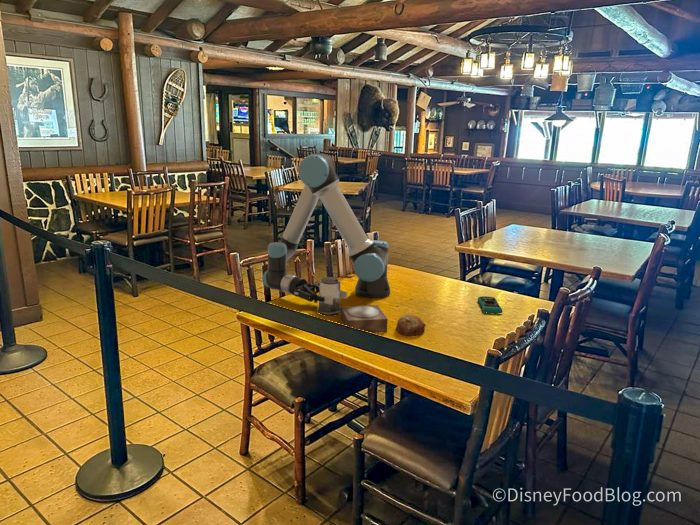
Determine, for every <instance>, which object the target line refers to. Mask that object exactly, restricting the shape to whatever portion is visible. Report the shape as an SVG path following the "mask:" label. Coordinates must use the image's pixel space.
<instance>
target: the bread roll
mask: <svg viewBox="0 0 700 525" xmlns="http://www.w3.org/2000/svg"><path fill="white" fill-rule="evenodd" d="M425 328H426V324H425V323H424V320H422V319H421V317H418V316H417V315H414V314H407V313H406V314H403V315H402V316H400V317H399V319H398V320H397V323H396V328H395V330H396V332H397V333H398V334H399V335H401V336H403V337H409V338H411V337H413V336H414V337H419V336H421V335H423V334H424V333H425V330H426V329H425ZM414 337H413V338H414Z"/></svg>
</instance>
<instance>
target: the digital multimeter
mask: <svg viewBox="0 0 700 525" xmlns="http://www.w3.org/2000/svg"><path fill="white" fill-rule="evenodd" d="M478 302H479V303H480V304H479V303H478ZM477 303H478V304H479V306H480V305H481V306H480V307H482V308H481V310H483V311H482V313H483V312H487V313H502V314H503V308H502V307H501V306H500V304H499V303H498V301H497V299H496V298H495V297H494V296H484V295H483V296H482V295H481V296H478V297H477ZM487 313H486V314H487Z"/></svg>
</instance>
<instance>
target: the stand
mask: <svg viewBox="0 0 700 525" xmlns="http://www.w3.org/2000/svg"><path fill="white" fill-rule="evenodd" d="M340 308H341V313H340V314H339V315H340V316H339V318H340V321H341V323H343V324H344V325H347V326H349V327H353V328H356V329H360V330H364V331H368V332H372V333H371V334H375V332H377V333H376V334H379V332H384V333H387V332H388V317H387V316H386V315H385V313H384V311H383V310H382V309H381V307H380V305H378V304H373V305H372V304H370V305H368V304H366V305H343V306H340ZM343 324H342V325H343Z"/></svg>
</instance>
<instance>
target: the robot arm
mask: <svg viewBox="0 0 700 525" xmlns="http://www.w3.org/2000/svg"><path fill="white" fill-rule="evenodd" d="M297 170H298V177H299V179H300V181H301V182H302V183H303V184H304V185H303V186H304V187H303V188H302V191H301V193H300V195H299V198H298V199H297V202H296V204H295V207H294V209H293V211H292V214H291V215H290V217H289V220H288V223H287V225H286V227H285V230H284V232H283V234H282V237H281V239H280V240H279V241H275V242H274V241H273V242H270V243H269V244H268V245H267V268H268V269H267V270H266V271H264V273H263V274H262V283H263V285H264V287H267V288H269V289H272V290H275V291H279V292H282V293H285V294H288V295H292V296H294V297H298V298H300V299H303V300H305V301H308V302H310V303H312V302H313V303H314V304H317V303H318V302H319V301H320V302H323V303H326V304H330V305H333V297H329V296H326V295H322V294H319V282H318V281H316V282H315V284H314V283H311V282H308V281H307V280H306V278H304V277H300V276H297V275H293V274H289V273H287V261H289V260H290V259H291V258H292V257H293V256H294V255H295V254H296V252H297V250H298V246H299V243H300V240H301V239H302V237H303V234H304V232H305V229H306V227H307V226H308V223H309V221H310V219H311V216H312V214H313V212H314V211H315V208H316V206H317V204H318V202H319V200H320V201H321V203H322V205H323V207H324V208H325V210H326V212H327V214H328V215H329V217H330V218H331V220H332V222H333V224H334V225H335V227H336V230H337V231H338V233H339V235H340V236H341V238H342V239H343V241H344V243H345V245H346V246H347V248H348V251H349V252H348V258H349V259H350V261H351V262H352V265H353V272H354V273H355V275H356V277H357V281H356V284H355V286H354V293H355V295H356V296H358V297H362V298H366V299H373V300H374V299H383V298H387V297H390V295H391V288H390V287H391V286H390V283H389V280H388V264H389V263H388V261H389V250H390V249H389V243H388V241H384V240H378V239H377V240H376V239H375V240H374V239H370V238H368V236H367V234H366V233H365V231H364V229H363V227H362V225H361V224H360V222H359V220H358V218H357V216H356V215H355V213H354V211H353V209H352V208H351V206H350V205H349V202H348V201H347V199H346V198H345V196H344V194H343V192H342V190H341V188H340V187H339V182H340V178H339V177H338V175H337V174H336V164H335V161H334V159H333V158H332V157H331V156H330V155H328V154H326V153H325V152H324V153H323V152H317V153H312V154H309V155H307V156H305V157H304V158H303V159H302V160H301V161H300V163H299V166H298V169H297ZM263 280H264V281H263ZM340 299H344V300H346V299H348V291H344V290H342V289H340Z"/></svg>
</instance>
